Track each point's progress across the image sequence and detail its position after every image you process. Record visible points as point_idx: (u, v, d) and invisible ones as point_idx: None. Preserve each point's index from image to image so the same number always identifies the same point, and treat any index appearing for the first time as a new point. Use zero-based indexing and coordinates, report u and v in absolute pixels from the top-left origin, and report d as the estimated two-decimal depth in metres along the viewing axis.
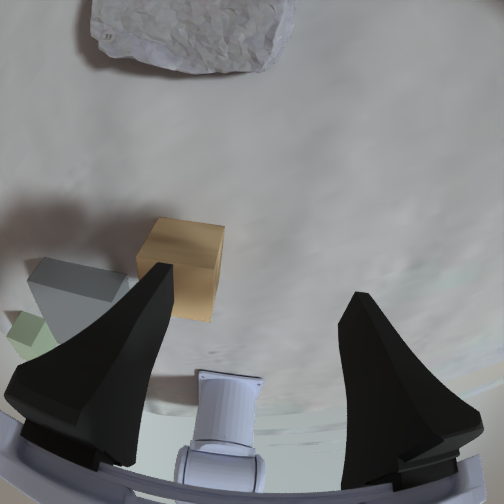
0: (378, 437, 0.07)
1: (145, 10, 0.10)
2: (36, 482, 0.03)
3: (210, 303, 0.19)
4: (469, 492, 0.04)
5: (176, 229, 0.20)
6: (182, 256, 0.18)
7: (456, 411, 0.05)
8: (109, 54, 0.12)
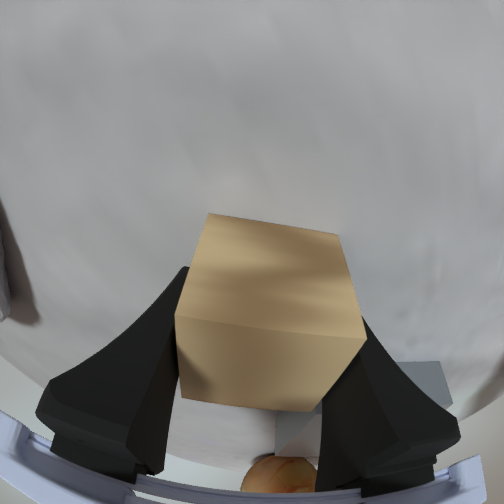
0: (348, 439, 0.07)
1: None
2: (36, 482, 0.03)
3: (295, 333, 0.07)
4: (469, 492, 0.04)
5: None
6: None
7: (429, 417, 0.05)
8: (1, 315, 0.13)
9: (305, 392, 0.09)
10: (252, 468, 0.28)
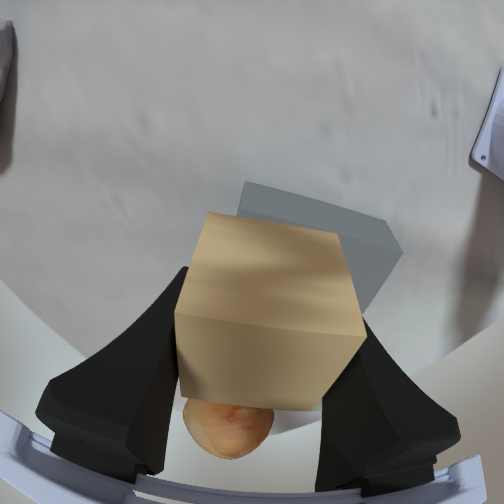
0: (348, 439, 0.07)
1: None
2: (36, 482, 0.03)
3: (295, 331, 0.07)
4: (469, 492, 0.04)
5: None
6: None
7: (429, 417, 0.05)
8: None
9: (305, 391, 0.09)
10: None
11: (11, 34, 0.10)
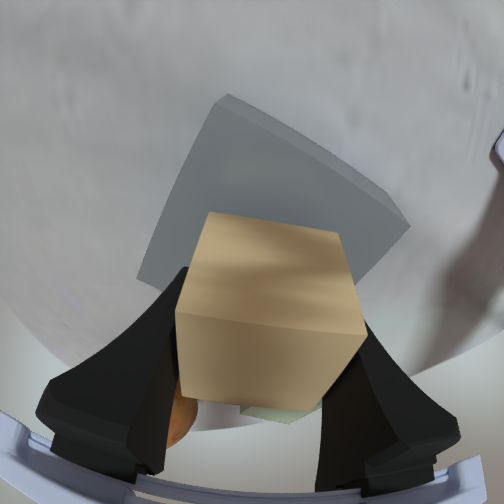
0: (348, 439, 0.07)
1: None
2: (36, 482, 0.03)
3: (295, 330, 0.07)
4: (469, 492, 0.04)
5: None
6: None
7: (429, 417, 0.05)
8: None
9: (306, 390, 0.09)
10: None
11: None
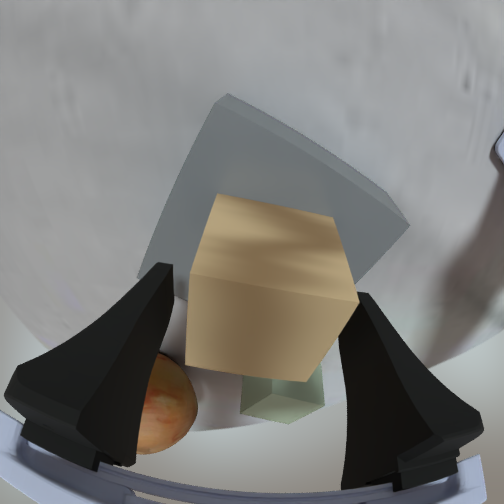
0: (378, 437, 0.07)
1: None
2: (36, 482, 0.03)
3: (296, 294, 0.08)
4: (469, 492, 0.04)
5: None
6: None
7: (456, 412, 0.05)
8: None
9: (302, 359, 0.10)
10: None
11: None
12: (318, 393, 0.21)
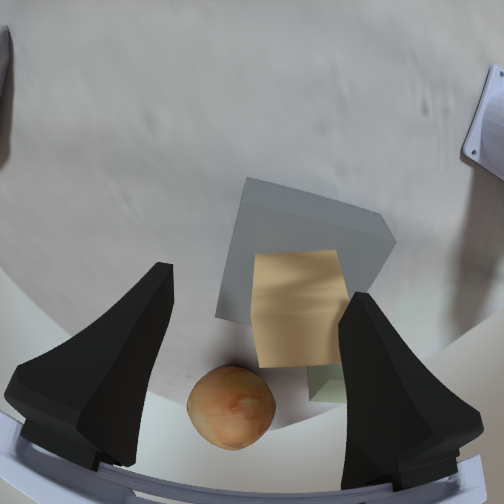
0: (378, 437, 0.07)
1: None
2: (36, 482, 0.03)
3: (311, 313, 0.14)
4: (469, 492, 0.04)
5: None
6: None
7: (456, 412, 0.05)
8: None
9: (330, 348, 0.16)
10: (200, 379, 0.31)
11: (7, 38, 0.11)
12: None
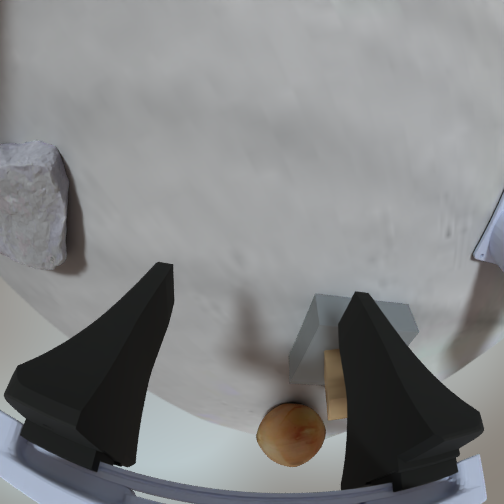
0: (378, 437, 0.07)
1: (31, 238, 0.20)
2: (36, 482, 0.03)
3: None
4: (469, 492, 0.04)
5: (325, 380, 0.25)
6: (328, 401, 0.23)
7: (456, 412, 0.05)
8: (60, 259, 0.22)
9: None
10: (266, 415, 0.37)
11: (61, 162, 0.19)
12: None
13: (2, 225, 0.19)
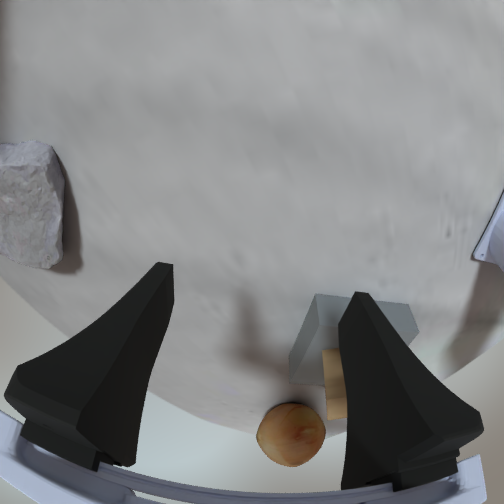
0: (378, 437, 0.07)
1: (28, 237, 0.20)
2: (36, 482, 0.03)
3: None
4: (469, 492, 0.04)
5: None
6: None
7: (456, 412, 0.05)
8: (57, 258, 0.22)
9: None
10: (266, 415, 0.37)
11: (57, 161, 0.19)
12: None
13: None
